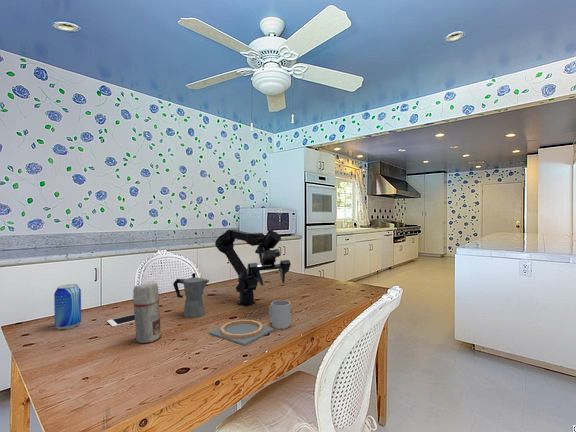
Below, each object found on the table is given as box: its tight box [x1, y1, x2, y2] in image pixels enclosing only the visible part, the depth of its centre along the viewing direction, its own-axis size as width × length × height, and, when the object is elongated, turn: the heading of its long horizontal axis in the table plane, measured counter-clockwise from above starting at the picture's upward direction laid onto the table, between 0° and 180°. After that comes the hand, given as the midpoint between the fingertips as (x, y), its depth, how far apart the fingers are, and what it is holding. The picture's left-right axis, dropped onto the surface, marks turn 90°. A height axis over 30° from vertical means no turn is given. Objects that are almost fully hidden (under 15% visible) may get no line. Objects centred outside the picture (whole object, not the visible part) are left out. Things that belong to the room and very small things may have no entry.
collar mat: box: [208, 318, 276, 347], centre depth 110 cm, size 18×16×2 cm
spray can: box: [132, 280, 162, 344], centre depth 105 cm, size 8×8×20 cm
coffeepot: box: [172, 272, 210, 319], centre depth 130 cm, size 15×9×18 cm, turn 92°
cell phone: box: [106, 313, 135, 328], centre depth 126 cm, size 9×18×1 cm, turn 134°
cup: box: [268, 299, 291, 330], centre depth 117 cm, size 7×10×9 cm
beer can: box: [53, 283, 82, 330], centre depth 118 cm, size 8×8×16 cm
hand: (273, 283), depth 125 cm, fingers open, 9 cm apart
